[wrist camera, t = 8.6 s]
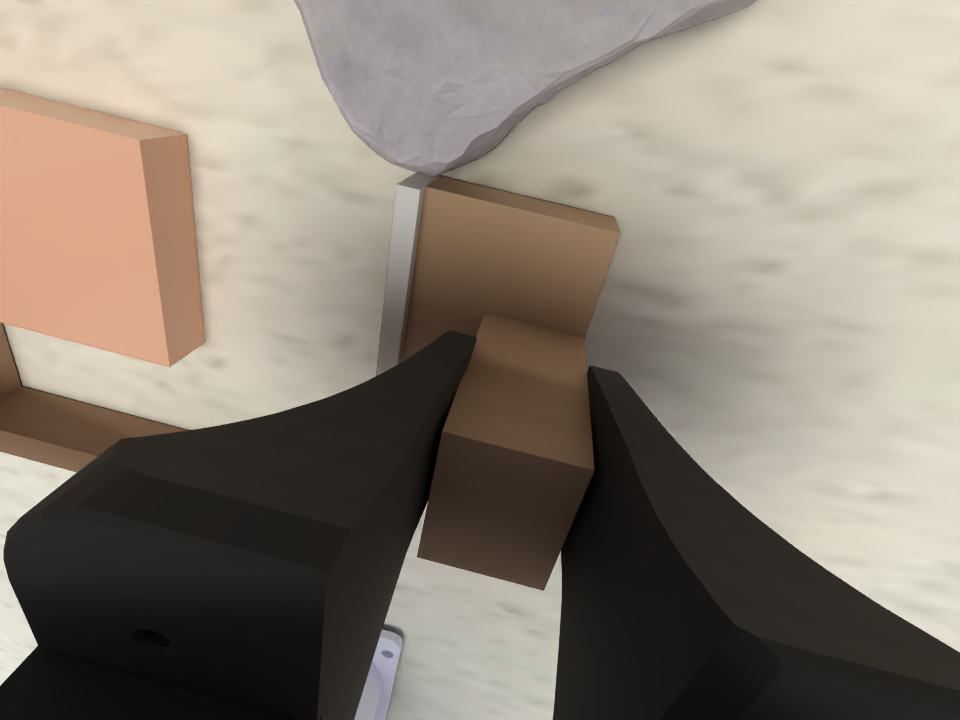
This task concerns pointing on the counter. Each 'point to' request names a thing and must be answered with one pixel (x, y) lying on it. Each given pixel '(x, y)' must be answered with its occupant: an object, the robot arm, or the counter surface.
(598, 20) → the stone block
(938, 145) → the counter surface
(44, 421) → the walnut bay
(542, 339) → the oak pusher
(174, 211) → the terracotta tile
